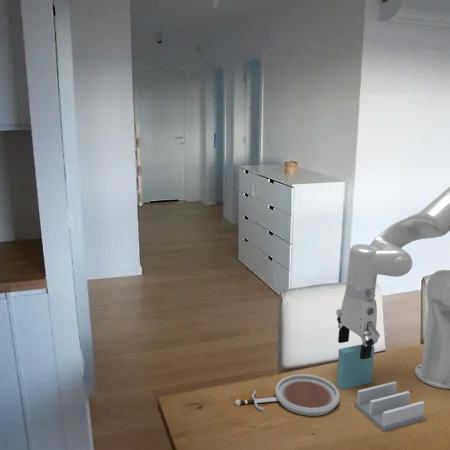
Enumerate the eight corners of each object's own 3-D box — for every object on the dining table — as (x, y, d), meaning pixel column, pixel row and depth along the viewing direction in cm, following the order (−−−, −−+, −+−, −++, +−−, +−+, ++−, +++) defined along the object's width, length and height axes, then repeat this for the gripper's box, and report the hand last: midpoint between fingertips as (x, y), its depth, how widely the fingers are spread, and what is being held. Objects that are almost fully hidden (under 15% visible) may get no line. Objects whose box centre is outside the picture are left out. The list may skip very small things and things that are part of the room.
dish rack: (393, 395, 127) (394, 380, 126) (424, 419, 117) (426, 403, 116) (354, 405, 123) (355, 390, 122) (383, 431, 112) (385, 415, 111)
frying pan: (228, 380, 130) (325, 369, 135) (229, 389, 131) (325, 379, 136) (241, 418, 114) (351, 404, 119) (241, 428, 115) (350, 415, 119)
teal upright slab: (365, 378, 136) (368, 342, 133) (371, 382, 133) (374, 346, 131) (336, 385, 132) (338, 349, 130) (341, 389, 130) (344, 353, 127)
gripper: (394, 301, 120) (386, 363, 124) (351, 279, 136) (346, 334, 139) (369, 304, 117) (362, 367, 121) (329, 281, 133) (324, 338, 137)
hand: (353, 349), depth 130 cm, fingers open, 9 cm apart
